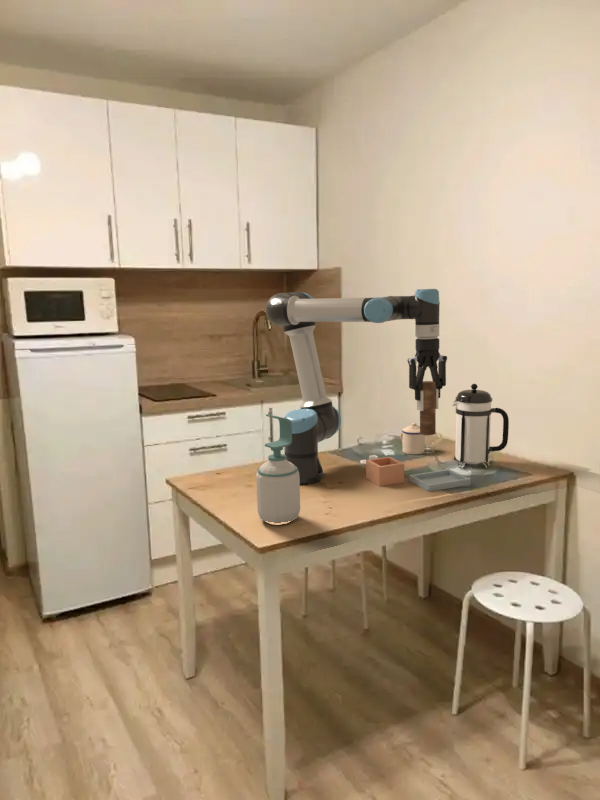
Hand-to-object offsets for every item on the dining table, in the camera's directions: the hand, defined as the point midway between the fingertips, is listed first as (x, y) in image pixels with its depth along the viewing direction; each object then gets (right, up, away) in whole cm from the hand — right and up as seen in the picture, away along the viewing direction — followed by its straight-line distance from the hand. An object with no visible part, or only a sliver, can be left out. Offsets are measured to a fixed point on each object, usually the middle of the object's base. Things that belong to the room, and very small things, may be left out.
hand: (427, 409), depth 199 cm
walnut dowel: (0, -8, +1) cm, 8 cm away
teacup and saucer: (-14, -21, +29) cm, 39 cm away
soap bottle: (-48, -32, -23) cm, 62 cm away
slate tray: (+5, -25, +4) cm, 26 cm away
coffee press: (+23, -21, +26) cm, 40 cm away
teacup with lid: (+3, -18, +45) cm, 48 cm away
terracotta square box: (-13, -25, +8) cm, 29 cm away
